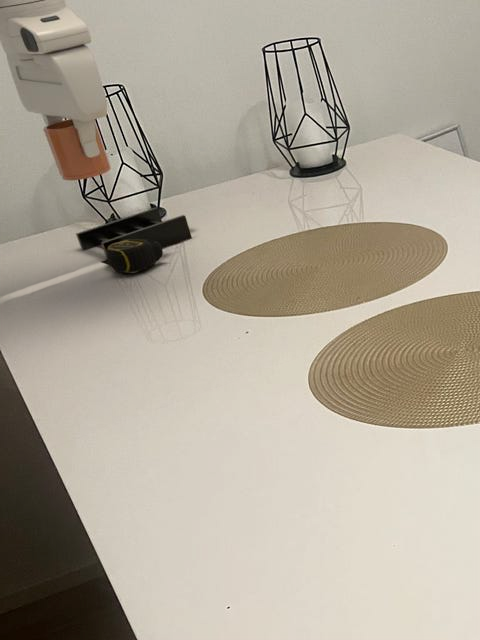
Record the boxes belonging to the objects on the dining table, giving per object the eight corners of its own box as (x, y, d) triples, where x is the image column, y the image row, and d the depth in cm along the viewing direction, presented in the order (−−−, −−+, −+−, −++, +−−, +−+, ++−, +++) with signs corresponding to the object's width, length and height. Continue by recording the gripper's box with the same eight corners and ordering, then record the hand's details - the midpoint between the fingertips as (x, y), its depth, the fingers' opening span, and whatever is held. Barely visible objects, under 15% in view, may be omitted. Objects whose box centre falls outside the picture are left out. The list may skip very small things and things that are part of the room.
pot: (74, 182, 123) (55, 131, 119) (54, 177, 127) (35, 127, 123) (119, 169, 126) (102, 118, 122) (98, 164, 130) (81, 115, 126)
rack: (111, 266, 144) (103, 243, 142) (84, 255, 150) (75, 233, 148) (192, 238, 150) (185, 215, 148) (162, 229, 156) (155, 207, 154)
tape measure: (169, 262, 142) (160, 236, 139) (138, 278, 137) (128, 252, 135) (135, 260, 145) (126, 234, 142) (103, 276, 140) (93, 250, 138)
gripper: (-19, 34, 121) (28, 152, 130) (42, 36, 108) (88, 167, 117) (29, 24, 124) (71, 140, 133) (93, 25, 111) (135, 154, 120)
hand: (80, 153), depth 125 cm, fingers closed on pot, 6 cm apart
